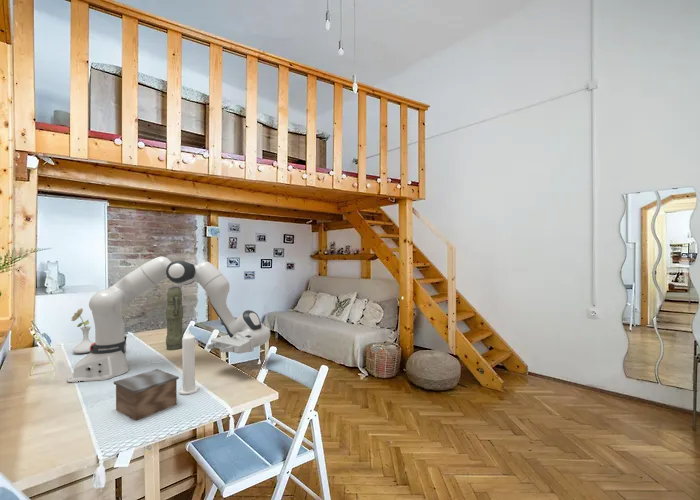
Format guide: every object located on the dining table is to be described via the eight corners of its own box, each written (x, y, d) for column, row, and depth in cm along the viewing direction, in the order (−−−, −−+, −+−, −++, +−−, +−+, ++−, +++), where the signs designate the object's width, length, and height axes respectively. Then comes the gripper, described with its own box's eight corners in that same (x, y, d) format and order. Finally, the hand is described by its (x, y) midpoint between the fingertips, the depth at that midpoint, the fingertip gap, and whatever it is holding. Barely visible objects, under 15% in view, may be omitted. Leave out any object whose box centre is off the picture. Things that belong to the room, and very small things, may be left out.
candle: (185, 396, 130) (185, 331, 130) (175, 392, 134) (175, 329, 134) (202, 390, 136) (202, 328, 136) (191, 386, 140) (191, 326, 140)
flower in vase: (86, 348, 194) (86, 305, 194) (103, 349, 193) (103, 305, 193) (64, 355, 181) (63, 309, 181) (82, 356, 180) (82, 309, 180)
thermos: (179, 344, 203) (179, 286, 203) (186, 348, 194) (186, 287, 194) (163, 347, 197) (163, 287, 196) (169, 351, 188) (169, 288, 188)
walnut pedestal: (134, 421, 111) (134, 391, 111) (113, 409, 119) (113, 381, 119) (178, 404, 124) (178, 376, 124) (157, 394, 132) (157, 369, 132)
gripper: (226, 331, 162) (200, 338, 151) (255, 337, 151) (229, 345, 140) (226, 344, 162) (200, 352, 151) (255, 351, 151) (229, 360, 140)
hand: (214, 348), depth 145 cm, fingers open, 8 cm apart
